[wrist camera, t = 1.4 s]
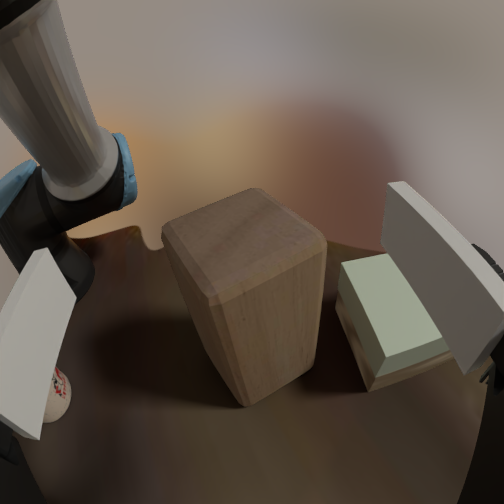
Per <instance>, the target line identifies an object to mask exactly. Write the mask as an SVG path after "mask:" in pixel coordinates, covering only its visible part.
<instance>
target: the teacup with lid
mask: <svg viewBox="0 0 504 504" xmlns="http://www.w3.org/2000/svg"><path fill="white" fill-rule="evenodd" d="M70 400H71V386H70V383H69V381H68V379H67V377H66V376H65V375H64V374H63V373H62V372H61V371H60V370H59V369H58V368H56V367H55V368H54V372H53V376H52V380H51V384H50V389H49V393H48V397H47V402H46V407H45V412H44V417H43V423H50V422H54V421H56V420H58V419H59V418H60V417H61V416H62V415H63V414H64V413H65V412H66V410H67V408H68V406H69V404H70Z"/></svg>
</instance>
